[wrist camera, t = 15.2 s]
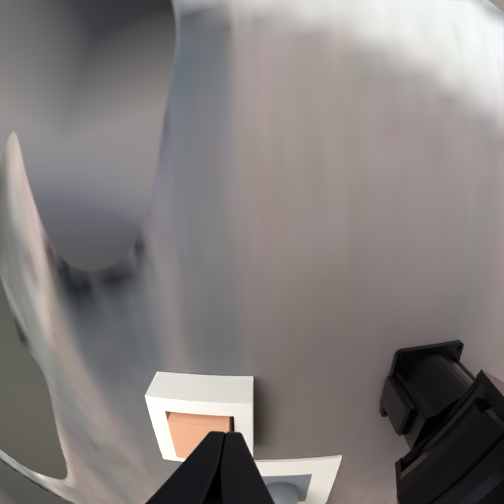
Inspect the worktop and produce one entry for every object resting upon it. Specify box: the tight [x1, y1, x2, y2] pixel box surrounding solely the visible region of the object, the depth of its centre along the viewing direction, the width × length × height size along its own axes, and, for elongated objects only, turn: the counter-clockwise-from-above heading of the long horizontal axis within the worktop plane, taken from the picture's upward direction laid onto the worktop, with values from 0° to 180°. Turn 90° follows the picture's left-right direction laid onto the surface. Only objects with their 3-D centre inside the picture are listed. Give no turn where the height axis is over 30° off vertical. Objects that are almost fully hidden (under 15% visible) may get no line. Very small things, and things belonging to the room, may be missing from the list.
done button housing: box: [145, 371, 254, 462], centre depth 19 cm, size 7×7×3 cm
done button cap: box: [167, 412, 234, 458], centre depth 19 cm, size 4×4×3 cm
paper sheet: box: [254, 455, 342, 504], centre depth 23 cm, size 13×11×1 cm
